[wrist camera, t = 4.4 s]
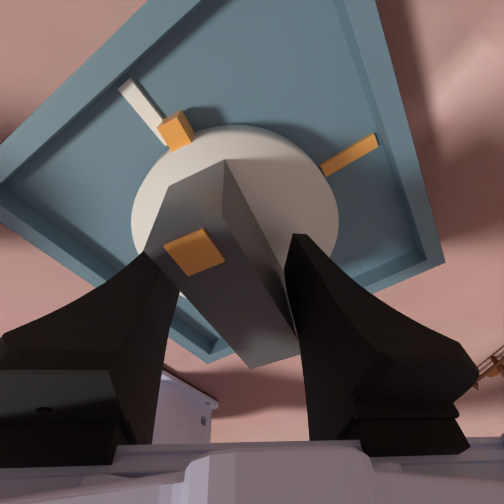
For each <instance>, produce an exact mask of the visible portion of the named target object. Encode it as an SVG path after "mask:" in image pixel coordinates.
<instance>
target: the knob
mask: <svg viewBox="0 0 504 504" xmlns="http://www.w3.org/2000/svg"><path fill="white" fill-rule="evenodd" d="M157 129H158V131H159V132H160V134H161V136H162V137H163V139H164V140H165V142H166V143H167V145H168V147H169V148H168V149H167V150H165V151H164V152H163V153H162V154H161V156H160V157H159V158H158V159H157V160H156V161H155V163H154V164H153V166H152V168H151V169H150V171H149V172H148V174H147V176H146V178H145V179H144V181H143V183H142V185H141V186H140V188H139V190H138V193H137V195H136V198H135V200H134V204H133V209H132V214H131V229H132V237H133V241H134V244H135V248H136V250H137V252H138V254H140V253H141V252H142V251H144V252H145V253H146V254H147V255H148V256H149V257H150V258H151V259H152V261H153V262H154V263H155V264H156V265H157V266H158V267H159V268H160V269H161V270H162V272H163V273H164V274H165V275H166V276H167V277H168V278H169V279H170V280H171V282H172V283H173V284H174V285H175V286H176V287H177V288H178V289H179V290H180V294H179V295H180V296H182V297H184V298H187V299H188V300H189V301H190V303H191V304H192V305H193V306H194V307H195V308H196V309H197V310H198V311H199V313H200V314H201V315H202V316H203V317H204V318H205V319H206V320H207V321H208V323H209V324H210V325H211V326H212V327H213V328H214V329H215V330H216V331H217V332H218V334H219V335H220V336H221V337H222V338H223V339H224V340H225V341H226V342H227V344H228V345H229V346H230V347H231V348H232V349H233V350H234V351H235V352H236V354H237V355H238V356H239V357H240V358H241V359H242V360H243V361H244V362H245V363H246V365H247V366H248V367H249V368H250V369H253V368H256V367H260V366H263V365H266V364H270V363H273V362H276V361H280V360H283V359H286V358H290V357H293V356H296V355H300V347H299V341H298V336H297V331H296V327H295V324H294V320H293V316H292V312H291V308H290V304H289V300H288V296H287V292H286V286H285V277H284V266H285V262H286V258H287V254H288V250H289V246H290V242H291V238H292V234H293V233H298V234H307V235H308V236H309V237H310V238H311V239H312V240H313V241H314V242H315V243H316V244H317V245H318V246H319V247H320V248H321V249H322V250H323V251H324V253H325V254H326V255H327V256H328V257H330V255H331V253H332V251H333V248H334V246H335V243H336V239H337V235H338V227H339V217H338V209H337V204H336V200H335V197H334V195H333V192H332V190H331V188H330V186H329V184H328V183H327V181H326V179H325V178H324V176H323V175H322V173H321V171H320V170H319V168H318V167H317V165H316V164H315V162H314V161H313V160H312V159H311V157H310V156H309V155H308V154H307V153H306V152H305V151H304V150H303V149H302V148H300V147H299V146H298V145H297V144H295V143H294V142H292V141H291V140H289V139H288V138H286V137H284V136H282V135H280V134H278V133H276V132H274V131H271V130H267V129H264V128H261V127H256V126H250V125H237V124H228V125H220V126H213V127H209V128H205V129H202V130H199V131H196V132H194V131H193V129H192V127H191V125H190V123H189V122H188V120H187V118H186V116H185V115H184V113H183V111H182V109H181V110H179V111H177V112H176V113H174V114H172V115H170V116H168V117H166V118H165V119H163V120H162V121H161V123H160V124H159V126H158V127H157Z"/></svg>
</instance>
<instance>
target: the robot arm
mask: <svg viewBox="0 0 504 504" xmlns="http://www.w3.org/2000/svg"><path fill="white" fill-rule="evenodd" d="M284 277H285V286H286V292H287V296H288V300H289V304H290V308H291V312H292V316H293V320H294V324H295V327H296V331H297V336H298V341H299V347H300V354H301V361H302V368H303V376H304V384H305V394H306V404H307V413H308V426H309V439H310V441H284V442H240V443H210V438H211V417H212V410H214V409H217V408H218V407H219V403H218V402H217V401H216V400H214V399H212V398H210V397H209V396H207V395H205V394H204V393H202V392H200V391H198V390H197V389H195V388H193V387H192V386H190V385H188V384H186V383H185V382H183V381H181V380H180V379H178V378H176V377H175V376H173V375H171V374H169V373H168V372H166V371H164V370H163V363H164V357H165V351H166V345H167V339H168V335H169V330H170V327H171V323H172V319H173V316H174V312H175V308H176V305H177V301H178V297H179V294H180V290H179V289H178V288H177V287H176V286H175V285H174V284H173V283H172V282H171V280H170V279H169V278H168V277H167V276H166V275H165V274H164V273H163V272H162V270H161V269H160V268H159V267H158V266H157V265H156V264H155V263H154V262H153V261H152V259H151V258H150V257H149V256H148V255H147V254H146V253H145V252H144V251H142V252H141V253H140V254H139V255H138V256H137V257H136V258H135V259H134V260H133V261H131V262H130V263H129V264H128V265H127V266H126V267H125V268H123V269H122V270H121V271H120V272H118V273H117V274H116V275H114V276H113V277H112V278H110V279H109V280H108V281H106V282H105V283H103V284H102V285H100V286H98V287H97V288H95V289H94V290H92V291H90V292H89V293H87V294H85V295H84V296H82V297H80V298H79V299H77V300H75V301H73V302H71V303H69V304H68V305H66V306H64V307H62V308H60V309H58V310H56V311H54V312H52V313H50V314H48V315H46V316H43V317H41V318H39V319H37V320H34V321H32V322H30V323H27V324H25V325H23V326H21V327H18V328H16V329H14V330H11V331H9V332H6V333H4V334H3V335H2V337H1V338H0V504H504V433H503V434H502V435H501V437H465V435H464V434H463V432H462V430H461V428H460V427H459V425H458V423H457V421H456V420H455V418H458V417H459V412H458V410H457V409H456V407H455V405H454V402H455V401H456V400H457V399H458V398H459V397H461V396H462V395H463V394H464V393H465V392H467V391H468V390H469V389H470V388H471V387H472V386H473V385H474V384H475V383H476V381H477V379H478V376H479V370H478V368H477V366H476V365H475V364H474V362H473V361H472V359H471V358H470V357H469V355H468V354H467V353H466V351H465V350H464V348H463V347H462V346H461V344H460V343H459V342H457V341H455V340H452V339H450V338H448V337H446V336H444V335H442V334H440V333H438V332H436V331H433V330H431V329H429V328H427V327H425V326H423V325H421V324H420V323H418V322H416V321H414V320H412V319H410V318H409V317H407V316H405V315H403V314H402V313H400V312H398V311H397V310H395V309H393V308H392V307H390V306H389V305H387V304H386V303H384V302H383V301H381V300H380V299H378V298H377V297H375V296H374V295H372V294H371V293H370V292H368V291H367V290H366V289H364V288H363V287H362V286H360V285H359V284H358V283H357V282H355V281H354V280H353V279H352V278H351V277H350V276H348V275H347V274H346V273H345V272H344V271H343V270H342V269H341V268H340V267H339V266H338V265H336V264H335V263H334V262H333V261H332V260H331V259H330V258H329V257H328V256H327V255H326V254H325V253H324V251H323V250H322V249H321V248H320V247H319V246H318V245H317V244H316V243H315V242H314V241H313V240H312V239H311V238H310V237H309V236H308V235H307V234H298V233H293V234H292V238H291V242H290V246H289V250H288V254H287V258H286V262H285V266H284Z"/></svg>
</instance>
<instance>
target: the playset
mask: <svg viewBox="0 0 504 504" xmlns="http://www.w3.org/2000/svg"><path fill="white" fill-rule="evenodd" d="M503 347H504V345H503V346H502V347H501V348H499V349H498V350H497V351H496V352H495V353H493V354H492V355H491V356H490V357H488V358H487V359H486V360H485V361H483V362H482V363H481V364H480V365H482V364H483V363H484V362H486V361H487V360H488V359H489V358H491V360H492V361H493V363H494V365H492V366H491V367H490V368H489V369H487V370H486V371H485V372H484V373H482V374H481V375H480V376H479V377H478V379H477V381H476V383H475V384H474V385H473V387H474V388H476V389H477V390H478V383H477V382H478V381H480V380H481V379H482V378H484V377H485V376H486V375H487V377H493V376H496V375H498V374H500V372H501V373H502V374H501V375H502V376H503V377H504V357H503V358H502V359H500V360H498V359H497V358H495V357H494V356H493V355H494V354H496V353H497V352H498V351H499V350H501V349H502V348H503ZM480 365H478V366H477V368H478V367H479V366H480Z"/></svg>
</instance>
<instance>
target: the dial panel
mask: <svg viewBox="0 0 504 504" xmlns="http://www.w3.org/2000/svg"><path fill="white" fill-rule="evenodd" d="M181 109H182V111H183V113H184V115H185V116H186V118H187V120H188V122H189V123H190V125H191V127H192V129H193V131H194V132H196V131H199V130H202V129H205V128H209V127H213V126H220V125H228V124H237V125H250V126H256V127H261V128H264V129H267V130H271V131H274V132H276V133H278V134H280V135H282V136H284V137H286V138H288V139H289V140H291V141H292V142H294V143H295V144H297V145H298V146H299V147H300V148H302V149H303V150H304V151H305V152H306V153H307V154H308V155H309V156H310V157H311V159H312V160H313V161H314V162H315V164H316V165H317V167H318V168H319V170H320V171H321V173H322V175H323V176H324V178H325V179H326V181H327V183H328V184H329V186H330V188H331V190H332V192H333V195H334V197H335V200H336V204H337V209H338V217H339V227H338V235H337V239H336V243H335V246H334V248H333V251H332V253H331V255H330V257H329V258H330V259H331V260H332V261H333V262H334V263H335V264H336V265H338V266H339V267H340V268H341V269H342V270H343V271H344V272H345V273H346V274H347V275H348V276H350V277H351V278H352V279H353V280H354V281H355V282H357V283H358V284H359V285H360V286H362V287H363V288H364V289H366V290H367V291H368V292H370V293H371V294H373V293H375V292H378V291H380V290H382V289H385V288H387V287H389V286H392V285H394V284H396V283H399V282H401V281H403V280H406V279H408V278H410V277H413V276H415V275H418V274H420V273H422V272H425V271H427V270H429V269H432V268H434V267H436V266H439V265H441V264H443V263H446V262H445V259H444V255H443V251H442V248H441V244H440V240H439V236H438V233H437V229H436V225H435V222H434V218H433V214H432V210H431V207H430V203H429V199H428V196H427V192H426V188H425V184H424V181H423V177H422V173H421V170H420V166H419V162H418V158H417V155H416V151H415V147H414V144H413V140H412V136H411V132H410V129H409V125H408V121H407V118H406V114H405V110H404V106H403V103H402V99H401V95H400V92H399V88H398V84H397V80H396V77H395V73H394V69H393V65H392V62H391V58H390V54H389V51H388V47H387V43H386V39H385V36H384V32H383V28H382V25H381V21H380V17H379V13H378V10H377V6H376V2H375V0H148V1H147V2H146V3H145V4H144V5H143V6H142V7H141V8H140V9H139V10H138V11H136V12H135V13H134V14H133V15H132V16H131V17H130V18H129V19H128V20H127V21H126V22H125V23H124V24H123V25H122V26H121V27H120V28H119V29H118V30H117V31H116V32H115V33H114V34H113V35H112V36H111V37H110V38H109V39H108V40H107V41H106V42H105V43H104V44H103V45H102V46H101V47H100V48H99V49H98V50H97V51H96V52H95V53H94V54H93V55H92V56H91V57H90V58H89V59H88V60H87V61H86V62H84V63H83V64H82V65H81V66H80V67H79V68H78V69H77V70H76V71H75V72H74V73H73V74H72V75H71V76H70V77H69V78H68V79H67V80H66V81H65V82H64V83H63V84H62V85H61V86H60V87H59V88H58V89H57V90H56V91H55V92H54V93H53V94H52V95H51V96H50V97H49V98H48V99H47V100H46V101H45V102H44V103H43V104H42V105H41V106H40V107H39V108H38V109H37V110H36V111H35V112H33V113H32V114H31V115H30V116H29V117H28V118H27V119H26V120H25V121H24V122H23V123H22V124H21V125H20V126H19V127H18V128H17V129H16V130H15V131H14V132H13V133H12V134H11V135H10V136H9V137H8V138H7V139H6V140H5V141H4V142H3V143H2V144H1V145H0V223H2V224H3V225H5V226H6V227H8V228H9V229H11V230H12V231H14V232H15V233H17V234H18V235H20V236H21V237H22V238H24V239H25V240H27V241H28V242H30V243H31V244H33V245H34V246H36V247H37V248H39V249H40V250H41V251H43V252H44V253H46V254H47V255H49V256H50V257H52V258H53V259H55V260H56V261H58V262H59V263H61V264H62V265H63V266H65V267H66V268H68V269H69V270H71V271H72V272H74V273H75V274H77V275H78V276H80V277H81V278H83V279H84V280H85V281H87V282H88V283H90V284H91V285H93V286H94V287H96V288H97V287H98V286H100V285H102V284H103V283H105V282H106V281H108V280H109V279H110V278H112V277H113V276H114V275H116V274H117V273H118V272H120V271H121V270H122V269H123V268H125V267H126V266H127V265H128V264H129V263H130V262H131V261H133V260H134V259H135V258H136V257H137V256H138V255H139V254H138V252H137V250H136V248H135V244H134V241H133V237H132V229H131V214H132V209H133V204H134V200H135V198H136V195H137V193H138V190H139V188H140V186H141V185H142V183H143V181H144V179H145V178H146V176H147V174H148V172H149V171H150V169H151V168H152V166H153V164H154V163H155V161H156V160H157V159H158V158H159V157H160V156H161V154H162V153H163V152H164V151H165V150H167V149H168V148H169V147H168V145H167V143H166V142H165V140H164V139H163V137H162V136H161V134H160V132H159V131H158V129H157V127H158V126H159V124H160V123H161V121H162V120H163V119H165V118H166V117H168V116H170V115H172V114H174V113H176V112H177V111H179V110H181ZM168 337H169V338H170V339H172V340H173V341H175V342H176V343H178V344H179V345H181V346H182V347H184V348H185V349H187V350H188V351H189V352H191V353H192V354H194V355H195V356H197V357H198V358H200V359H201V360H203V361H204V362H206V363H207V364H209V363H212V362H214V361H216V360H219V359H221V358H223V357H226V356H228V355H230V354H233V353H235V351H234V350H233V349H232V348H231V347H230V346H229V345H228V344H227V342H226V341H225V340H224V339H223V338H222V337H221V336H220V335H219V334H218V332H217V331H216V330H215V329H214V328H213V327H212V326H211V325H210V324H209V323H208V321H207V320H206V319H205V318H204V317H203V316H202V315H201V314H200V313H199V311H198V310H197V309H196V308H195V307H194V306H193V305H192V304H191V303H190V301H189V300H188V299H187V298H184V297H182V296H180V295H179V297H178V301H177V305H176V308H175V312H174V316H173V319H172V323H171V327H170V330H169V335H168Z"/></svg>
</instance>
